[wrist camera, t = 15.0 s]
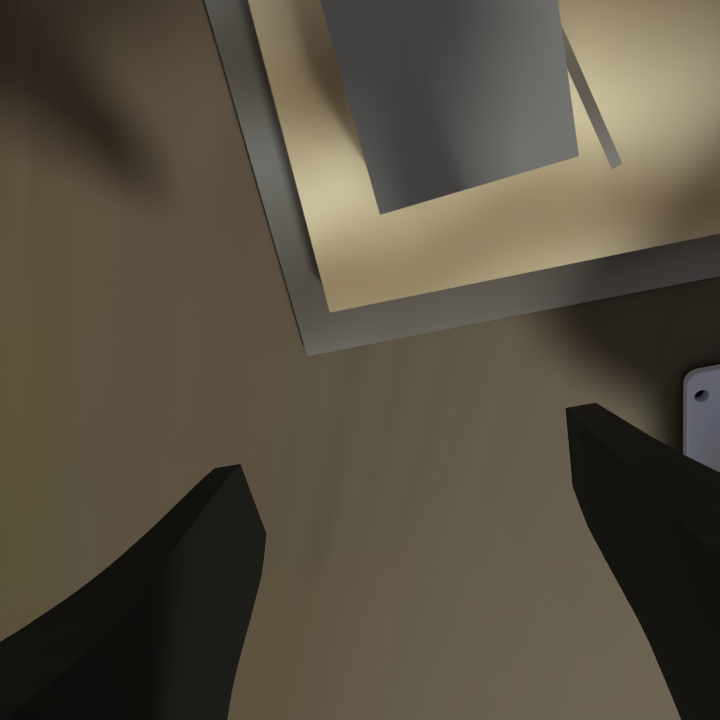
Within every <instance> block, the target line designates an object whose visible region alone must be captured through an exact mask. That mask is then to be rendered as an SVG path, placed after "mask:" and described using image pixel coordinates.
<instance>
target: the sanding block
mask: <svg viewBox="0 0 720 720" xmlns="http://www.w3.org/2000/svg"><path fill="white" fill-rule="evenodd" d="M320 2H321V6H322V10H323V13H324V17H325V20H326V24H327V27H328V31H329V35H330V38H331V42H332V45H333V49H334V52H335V56H336V60H337V63H338V67H339V70H340V74H341V77H342V81H343V85H344V88H345V92H346V95H347V99H348V102H349V106H350V110H351V113H352V117H353V120H354V124H355V127H356V131H357V135H358V138H359V142H360V145H361V149H362V152H363V156H364V160H365V163H366V167H367V170H368V174H369V177H370V181H371V185H372V188H373V192H374V195H375V199H376V202H377V206H378V210H379V213H380V215H382V214H385V213H388V212H392V211H395V210H399V209H402V208H405V207H409V206H412V205H416V204H419V203H422V202H426V201H429V200H433V199H436V198H439V197H443V196H446V195H449V194H453V193H456V192H460V191H463V190H466V189H470V188H473V187H477V186H480V185H483V184H487V183H490V182H494V181H497V180H500V179H504V178H507V177H511V176H514V175H517V174H521V173H524V172H527V171H531V170H534V169H538V168H541V167H544V166H548V165H551V164H555V163H558V162H561V161H565V160H568V159H572V158H575V157H578V156H579V152H578V145H577V137H576V130H575V123H574V115H573V108H572V100H571V93H570V86H569V78H568V71H567V63H566V56H565V49H564V41H563V34H562V26H561V19H560V12H559V4H558V0H320Z"/></svg>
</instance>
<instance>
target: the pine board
mask: <svg viewBox="0 0 720 720" xmlns="http://www.w3.org/2000/svg"><path fill="white" fill-rule="evenodd" d="M205 4H206V7H207V11H208V14H209V18H210V21H211V25H212V28H213V32H214V35H215V39H216V42H217V46H218V49H219V52H220V56H221V59H222V63H223V66H224V70H225V73H226V77H227V80H228V84H229V87H230V91H231V94H232V97H233V101H234V104H235V108H236V111H237V115H238V118H239V122H240V125H241V129H242V132H243V136H244V139H245V142H246V146H247V149H248V153H249V156H250V160H251V163H252V167H253V170H254V174H255V177H256V181H257V184H258V188H259V191H260V194H261V198H262V201H263V205H264V208H265V212H266V215H267V219H268V222H269V226H270V229H271V233H272V236H273V239H274V243H275V246H276V250H277V253H278V257H279V260H280V264H281V267H282V271H283V274H284V278H285V281H286V284H287V288H288V291H289V295H290V298H291V302H292V305H293V309H294V312H295V316H296V319H297V323H298V326H299V330H300V333H301V336H302V340H303V343H304V347H305V350H306V354H307V356H311V355H316V354H321V353H326V352H332V351H337V350H342V349H347V348H352V347H357V346H363V345H368V344H373V343H378V342H383V341H388V340H393V339H399V338H404V337H409V336H414V335H419V334H424V333H430V332H435V331H440V330H445V329H450V328H455V327H461V326H466V325H471V324H476V323H481V322H486V321H491V320H497V319H502V318H507V317H512V316H517V315H522V314H528V313H533V312H538V311H543V310H548V309H553V308H559V307H564V306H569V305H574V304H579V303H584V302H590V301H595V300H600V299H605V298H610V297H615V296H620V295H626V294H631V293H636V292H641V291H646V290H651V289H657V288H662V287H667V286H672V285H677V284H682V283H688V282H693V281H698V280H703V279H708V278H713V277H719V276H720V0H558V4H559V12H560V19H561V26H562V34H563V41H564V49H565V56H566V63H567V71H568V78H569V86H570V93H571V100H572V108H573V115H574V123H575V130H576V137H577V145H578V152H579V156H578V157H575V158H572V159H568V160H565V161H561V162H558V163H555V164H551V165H548V166H544V167H541V168H538V169H534V170H531V171H527V172H524V173H521V174H517V175H514V176H511V177H507V178H504V179H500V180H497V181H494V182H490V183H487V184H483V185H480V186H477V187H473V188H470V189H466V190H463V191H460V192H456V193H453V194H449V195H446V196H443V197H439V198H436V199H433V200H429V201H426V202H422V203H419V204H416V205H412V206H409V207H405V208H402V209H399V210H395V211H392V212H388V213H385V214H382V215H380V213H379V210H378V206H377V202H376V199H375V195H374V192H373V188H372V185H371V181H370V177H369V174H368V170H367V167H366V163H365V160H364V156H363V152H362V149H361V145H360V142H359V138H358V135H357V131H356V127H355V124H354V120H353V117H352V113H351V110H350V106H349V102H348V99H347V95H346V92H345V88H344V85H343V81H342V77H341V74H340V70H339V67H338V63H337V60H336V56H335V52H334V49H333V45H332V42H331V38H330V35H329V31H328V27H327V24H326V20H325V17H324V13H323V10H322V6H321V2H320V0H205Z"/></svg>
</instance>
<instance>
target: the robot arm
mask: <svg viewBox="0 0 720 720" xmlns="http://www.w3.org/2000/svg"><path fill="white" fill-rule="evenodd" d="M701 390H704V392H703V394H702V395H701V396H699V397H695V394H696V393H697V392H698V391H701ZM566 417H567V429H568V440H569V451H570V462H571V473H572V484H573V489H574V491H575V494H576V497H577V499H578V502H579V505H580V507H581V510H582V512H583V515H584V518H585V520H586V523H587V525H588V528H589V530H590V531H591V533H592V535H593V537H594V539H595V541H596V543H597V545H598V547H599V548H600V550H601V552H602V554H603V556H604V558H605V560H606V561H607V563H608V565H609V567H610V569H611V571H612V572H613V574H614V576H615V578H616V580H617V582H618V583H619V585H620V587H621V589H622V591H623V593H624V594H625V596H626V598H627V600H628V602H629V604H630V605H631V607H632V609H633V611H634V613H635V615H636V616H637V618H638V620H639V622H640V624H641V626H642V628H643V630H644V632H645V635H646V637H647V639H648V641H649V643H650V645H651V648H652V650H653V652H654V655H655V657H656V659H657V662H658V664H659V667H660V669H661V671H662V674H663V676H664V678H665V681H666V683H667V686H668V688H669V690H670V693H671V695H672V698H673V700H674V703H675V705H676V708H677V710H678V713H679V715H680V718H681V720H720V364H719V365H714V366H708V367H702V368H697V369H694V370H692V371H690V372H689V373H688V374H687V375H686V376H685V378H684V382H683V454H682V453H680V452H678V451H676V450H674V449H673V448H671V447H669V446H667V445H665V444H663V443H662V442H660V441H658V440H656V439H655V438H653V437H651V436H649V435H648V434H646V433H644V432H643V431H641V430H639V429H638V428H636V427H634V426H633V425H631V424H630V423H628V422H626V421H625V420H623V419H621V418H620V417H618V416H617V415H615V414H613V413H612V412H610V411H608V410H607V409H605V408H603V407H602V406H600V405H598V404H597V403H592V404H586V405H580V406H575V407H569V408H566ZM265 542H266V532H265V529H264V526H263V524H262V521H261V518H260V516H259V513H258V510H257V508H256V505H255V502H254V500H253V497H252V494H251V492H250V489H249V486H248V483H247V481H246V478H245V475H244V473H243V470H242V467H241V465H240V464H238V465H232V466H226V467H220V468H215V469H214V470H212V471H211V472H210V473H209V474H208V475H206V476H205V477H204V478H203V479H202V480H201V481H200V482H199V483H198V484H197V485H196V486H195V487H194V488H193V489H192V490H191V491H190V492H189V493H188V494H187V495H186V496H185V497H184V498H183V499H181V500H180V501H179V502H178V503H177V504H176V505H175V506H174V507H173V508H172V509H171V510H170V511H169V512H168V513H167V514H166V515H165V516H164V517H163V518H162V519H161V520H160V521H159V522H158V523H157V524H156V525H155V526H154V527H153V528H152V529H150V530H149V531H148V532H147V533H146V534H145V535H144V536H143V537H142V538H140V539H139V540H138V541H137V542H136V543H135V544H134V545H133V546H132V547H130V548H129V549H128V550H127V551H126V552H125V553H124V554H123V555H122V556H121V557H119V558H118V559H117V560H116V561H115V562H113V563H112V564H111V565H110V566H109V567H107V568H106V569H105V570H104V571H102V572H101V573H100V574H99V575H97V576H96V577H95V578H94V579H92V580H91V581H90V582H88V583H87V584H86V585H84V586H83V587H82V588H81V589H79V590H78V591H77V592H75V593H74V594H72V595H71V596H70V597H68V598H67V599H65V600H64V601H62V602H61V603H59V604H58V605H56V606H55V607H54V608H52V609H51V610H49V611H48V612H46V613H45V614H43V615H42V616H40V617H39V618H37V619H36V620H34V621H33V622H31V623H30V624H28V625H27V626H25V627H24V628H22V629H21V630H19V631H17V632H16V633H14V634H12V635H11V636H9V637H7V638H6V639H4V640H3V641H1V642H0V720H227V717H228V711H229V705H230V699H231V693H232V688H233V684H234V679H235V675H236V670H237V666H238V663H239V659H240V655H241V651H242V648H243V644H244V640H245V637H246V633H247V629H248V625H249V622H250V618H251V614H252V610H253V607H254V603H255V599H256V595H257V591H258V587H259V583H260V579H261V575H262V568H263V560H264V552H265Z"/></svg>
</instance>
